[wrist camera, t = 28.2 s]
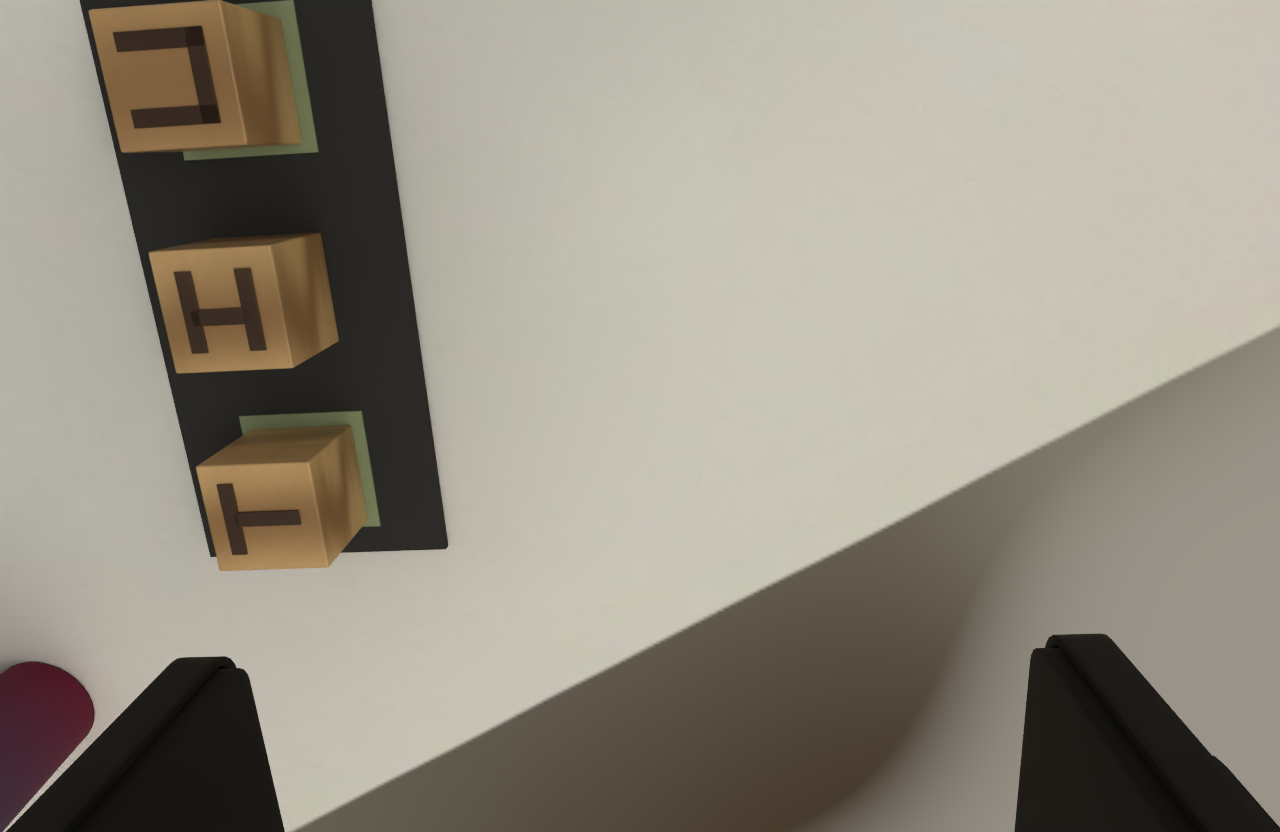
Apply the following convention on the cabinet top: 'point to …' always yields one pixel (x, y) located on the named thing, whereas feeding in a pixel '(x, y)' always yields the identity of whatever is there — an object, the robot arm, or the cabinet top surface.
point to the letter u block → (196, 77)
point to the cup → (37, 730)
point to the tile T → (283, 498)
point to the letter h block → (245, 302)
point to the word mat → (355, 259)
